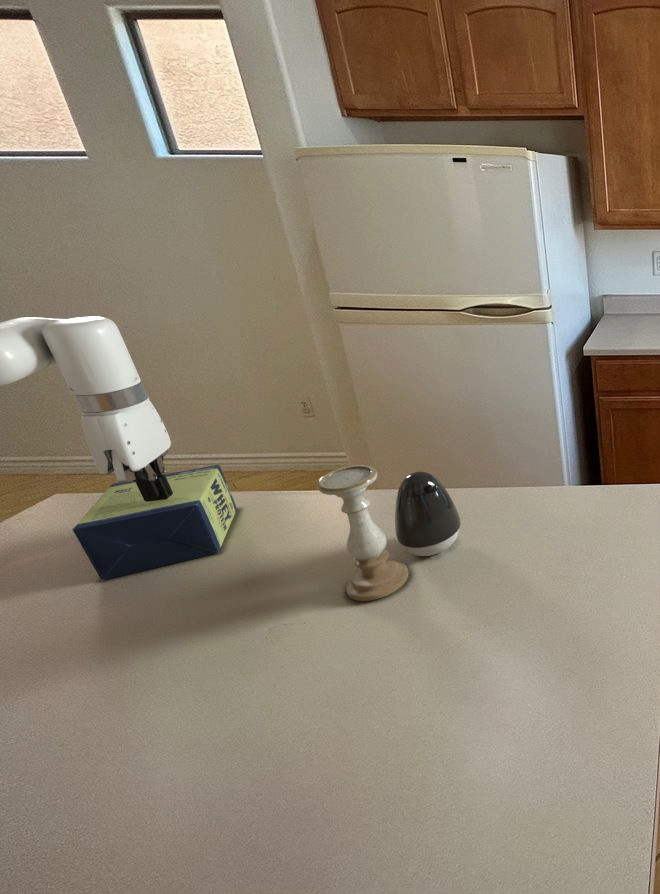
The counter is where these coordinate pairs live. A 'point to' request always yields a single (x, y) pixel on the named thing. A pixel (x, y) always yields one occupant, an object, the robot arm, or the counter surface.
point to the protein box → (157, 523)
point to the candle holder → (364, 535)
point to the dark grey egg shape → (425, 515)
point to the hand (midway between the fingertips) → (159, 497)
